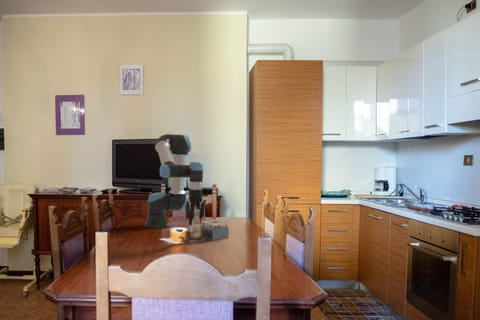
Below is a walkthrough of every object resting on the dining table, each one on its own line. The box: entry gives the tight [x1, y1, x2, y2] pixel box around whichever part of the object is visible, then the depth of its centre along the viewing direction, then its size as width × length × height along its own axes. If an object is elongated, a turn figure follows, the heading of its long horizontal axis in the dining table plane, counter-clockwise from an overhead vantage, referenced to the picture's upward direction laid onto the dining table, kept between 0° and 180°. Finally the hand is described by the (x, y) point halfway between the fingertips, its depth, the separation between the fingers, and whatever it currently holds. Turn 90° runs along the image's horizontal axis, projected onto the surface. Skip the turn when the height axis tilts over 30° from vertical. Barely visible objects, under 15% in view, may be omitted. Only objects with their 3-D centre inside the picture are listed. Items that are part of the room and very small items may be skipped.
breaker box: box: [199, 218, 230, 242], centre depth 188 cm, size 12×12×10 cm
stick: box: [190, 208, 201, 238], centre depth 177 cm, size 3×3×16 cm
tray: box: [182, 236, 207, 245], centre depth 177 cm, size 10×10×2 cm
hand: (194, 230), depth 177 cm, fingers closed on stick, 3 cm apart
